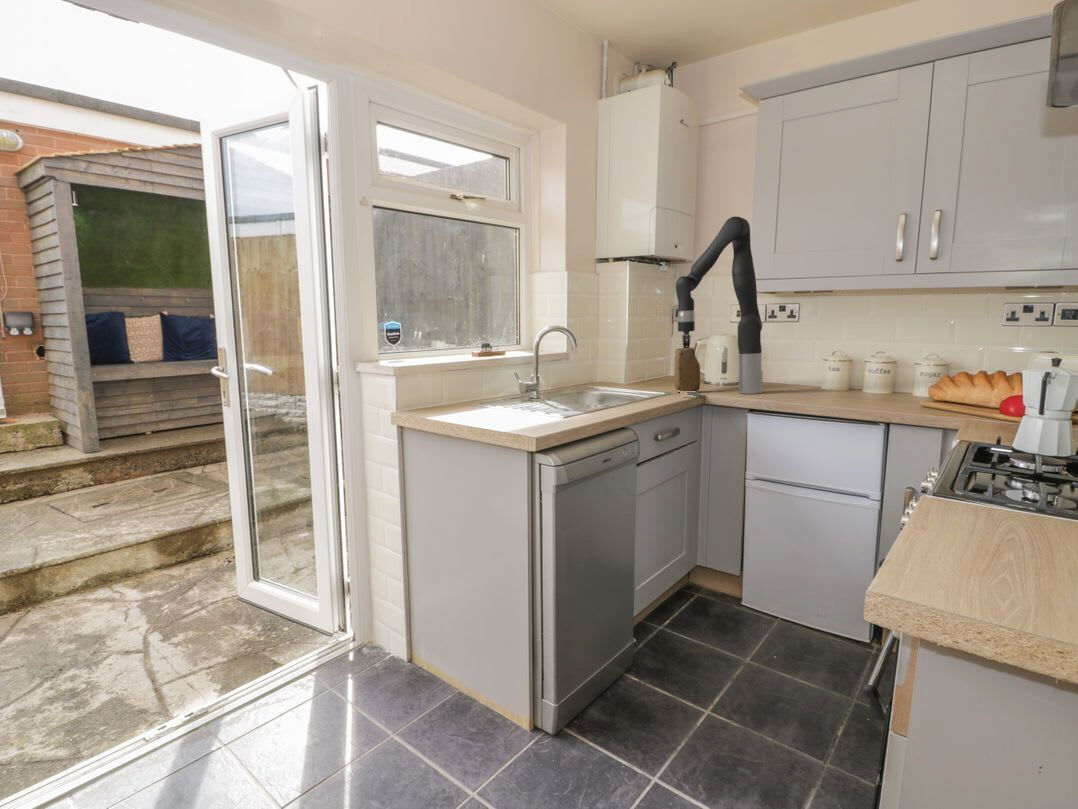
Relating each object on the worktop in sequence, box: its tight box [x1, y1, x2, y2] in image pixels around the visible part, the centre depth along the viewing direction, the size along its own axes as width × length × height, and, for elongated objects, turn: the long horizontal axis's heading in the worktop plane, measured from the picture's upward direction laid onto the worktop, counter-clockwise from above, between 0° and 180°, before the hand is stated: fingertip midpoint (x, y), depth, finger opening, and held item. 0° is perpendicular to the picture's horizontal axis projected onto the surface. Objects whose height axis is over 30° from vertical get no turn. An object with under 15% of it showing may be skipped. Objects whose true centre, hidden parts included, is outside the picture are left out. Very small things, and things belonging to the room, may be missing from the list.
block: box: [673, 346, 701, 392], centre depth 264 cm, size 11×8×20 cm
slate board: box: [687, 391, 701, 398], centre depth 253 cm, size 8×12×1 cm, turn 169°
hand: (686, 358), depth 269 cm, fingers closed
